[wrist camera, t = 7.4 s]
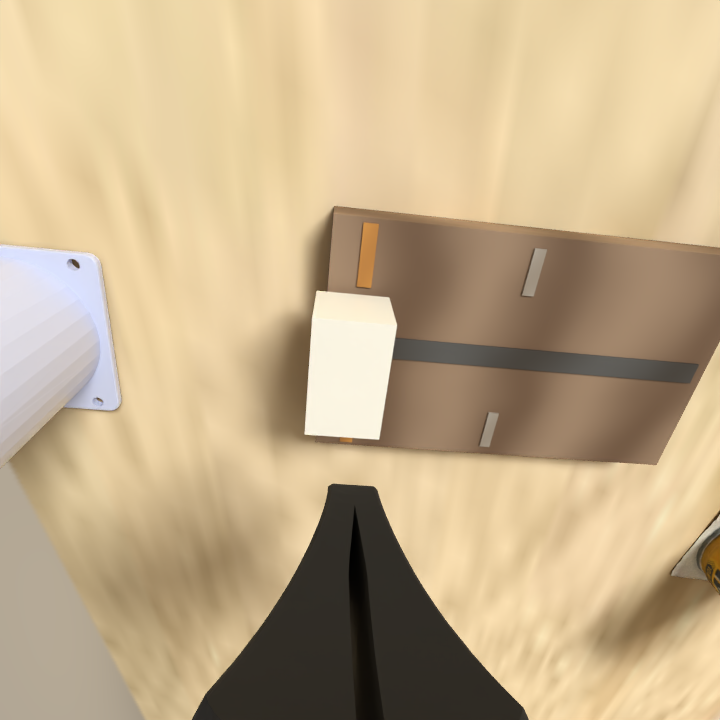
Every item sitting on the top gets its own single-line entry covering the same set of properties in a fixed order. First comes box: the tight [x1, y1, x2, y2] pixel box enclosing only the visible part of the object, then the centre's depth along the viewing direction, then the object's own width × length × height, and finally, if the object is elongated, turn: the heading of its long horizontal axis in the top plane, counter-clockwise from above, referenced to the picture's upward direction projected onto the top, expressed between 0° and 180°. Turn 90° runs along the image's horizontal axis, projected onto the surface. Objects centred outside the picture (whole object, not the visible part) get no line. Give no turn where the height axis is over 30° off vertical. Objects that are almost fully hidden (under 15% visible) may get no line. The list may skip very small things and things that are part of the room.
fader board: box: [316, 206, 720, 465], centre depth 22 cm, size 18×11×2 cm, turn 84°
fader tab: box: [305, 291, 397, 440], centre depth 18 cm, size 3×5×3 cm, turn 174°
